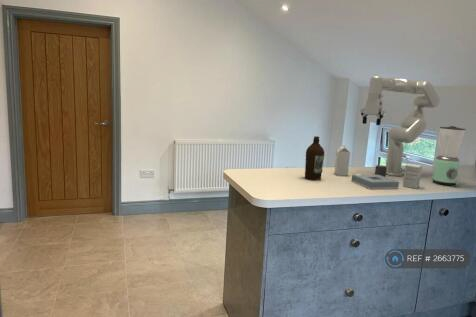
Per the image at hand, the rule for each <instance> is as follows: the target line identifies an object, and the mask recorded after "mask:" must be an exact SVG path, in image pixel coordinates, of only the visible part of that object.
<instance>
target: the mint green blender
mask: <svg viewBox="0 0 476 317" xmlns="http://www.w3.org/2000/svg"><path fill="white" fill-rule="evenodd" d="M465 133H466V128H461V127H457V126H452V125H451V126H450V125H449V126H439V134H438V138H437V145H438V147H439V155H438V156H437V155H436V156H437V157H436V158H435V160H434V165H433V171H432V178H431V179H432V180H431V181H433V182H432V183H436V184H439V185H440V186H444V185H447V186H448V185H449V186H450V185H451V186H452V185H456V186H457V182H458V176H459V170H460V164H461V161H460V159H459V157H458V154H459V150H460V148H461V145H462V142H463V139H464V138H465Z"/></svg>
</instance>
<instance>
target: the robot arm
mask: <svg viewBox="0 0 476 317" xmlns="http://www.w3.org/2000/svg"><path fill="white" fill-rule="evenodd" d="M382 91H387V92H394V93H403V94H408V95H409V94H410V95H416V96H415V97H414V98H413V101H412V110H411V111H410V113H408V115H406V117H405V118H403V120H402V121H401V122H400V124H399V125H400V126H393V127H391V128H390V129H389V130H388V134H387V139H388V145H387V152H386V162H385V166H386V167H387V169H386V174H387V176H392V177H402V176H404V174H403V172H404V173H405V168H402V164H403V157H404V148H405V147H404V144H411V143H413V142H415V141H416V140H417V139H418V138H419V136H421V135H422V133H424V132H425V130H426V128H427V124H428V123H427V121H426V119H424V118H425V108H426V109H427V108H428V109H434V108H437V107H438V106H439V105H440V102H441V101H440V96H439V94H438V93H437V90H436V89H435V87H434V85H433V84H432V83H431V82H430V81H429V80H412V79H405V78H394V77H391V76H379V75H375V76H371V77H370V80H369V87H368V96H367V98H366V100H365V105H364V107H363V108H361V109H360V110H359V112H360V115H361V117H362V125H365V124H366V125H367V121H368V116H376V117H377V118H376V121H375V122H376V124H375V125H376V126H381V121H382V119H383V118H384V117H385V115H386V110H384V109H383V99H382V98H383V96H384V95H383V94H382Z"/></svg>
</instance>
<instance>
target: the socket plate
mask: <svg viewBox="0 0 476 317" xmlns="http://www.w3.org/2000/svg"><path fill="white" fill-rule="evenodd" d="M351 182H352V183H354V184H356V185H359V186H362V187H364V188H366V189H368V190H398V189H399V187H400V186H399V185H400V182H399V181H398V180H395V179H393V178H389V177H386V176H385V177H384V176H381V175H375V174H359V173H358V174H357V173H355V174H352V175H351Z"/></svg>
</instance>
